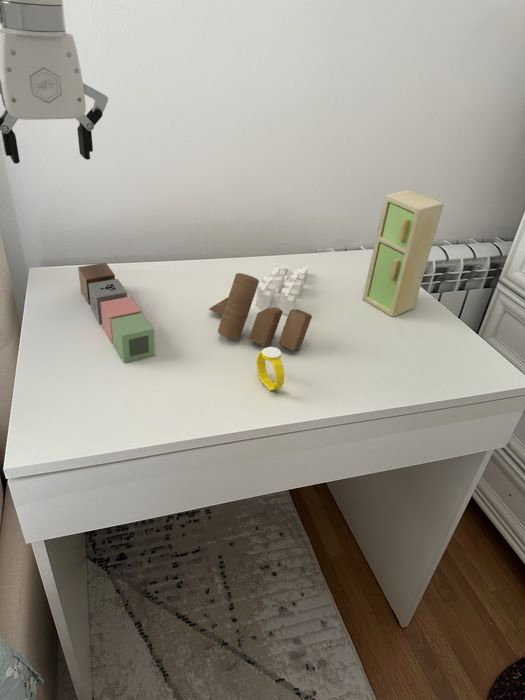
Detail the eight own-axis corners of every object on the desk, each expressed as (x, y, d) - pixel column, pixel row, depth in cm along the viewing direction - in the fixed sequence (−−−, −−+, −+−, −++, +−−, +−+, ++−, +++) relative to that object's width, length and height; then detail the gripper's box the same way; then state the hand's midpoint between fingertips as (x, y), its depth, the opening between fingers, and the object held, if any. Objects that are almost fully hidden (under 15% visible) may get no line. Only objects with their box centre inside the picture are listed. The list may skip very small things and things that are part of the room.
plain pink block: (112, 344, 85) (110, 317, 82) (102, 328, 88) (100, 301, 85) (142, 337, 87) (141, 311, 84) (132, 321, 91) (130, 296, 88)
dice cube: (128, 317, 91) (126, 292, 89) (99, 323, 89) (96, 297, 86) (119, 303, 95) (117, 278, 92) (91, 308, 93) (88, 283, 90)
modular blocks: (290, 316, 97) (293, 297, 94) (254, 308, 98) (256, 289, 96) (310, 270, 113) (313, 253, 110) (279, 263, 114) (281, 246, 111)
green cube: (124, 363, 81) (122, 336, 78) (113, 345, 85) (111, 319, 82) (155, 355, 83) (154, 329, 80) (143, 338, 87) (142, 312, 84)
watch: (286, 394, 79) (291, 362, 75) (270, 399, 77) (274, 366, 74) (266, 370, 83) (270, 339, 79) (251, 375, 82) (254, 343, 78)
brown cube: (88, 305, 94) (86, 279, 91) (80, 291, 97) (77, 266, 94) (116, 299, 96) (115, 274, 93) (108, 286, 99) (105, 262, 96)
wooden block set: (300, 357, 91) (322, 300, 88) (281, 363, 83) (303, 301, 80) (214, 317, 97) (231, 263, 94) (188, 320, 89) (206, 261, 86)
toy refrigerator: (358, 299, 104) (382, 194, 92) (383, 291, 108) (409, 188, 96) (389, 318, 99) (418, 210, 87) (414, 309, 103) (445, 203, 91)
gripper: (-41, 18, 60) (-11, 170, 70) (110, 27, 68) (118, 162, 78) (-48, 12, 66) (-19, 154, 75) (93, 20, 74) (103, 148, 83)
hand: (51, 158), depth 77 cm, fingers open, 9 cm apart
